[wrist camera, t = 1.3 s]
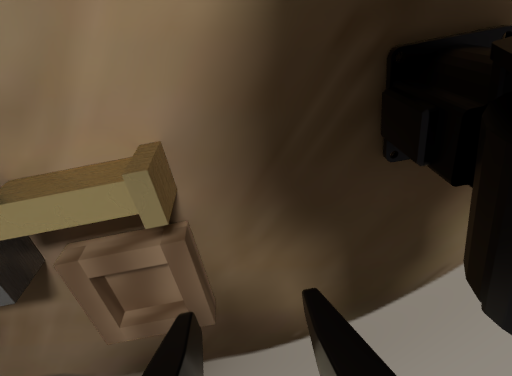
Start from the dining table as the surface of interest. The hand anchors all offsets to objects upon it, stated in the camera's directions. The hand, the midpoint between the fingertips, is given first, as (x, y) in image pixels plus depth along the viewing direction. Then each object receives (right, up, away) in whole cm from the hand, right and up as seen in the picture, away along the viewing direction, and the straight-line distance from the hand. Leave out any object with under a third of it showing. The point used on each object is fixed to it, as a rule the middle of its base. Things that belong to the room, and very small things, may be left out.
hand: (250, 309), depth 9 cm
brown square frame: (-8, -3, +14) cm, 16 cm away
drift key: (-10, +4, +9) cm, 14 cm away
